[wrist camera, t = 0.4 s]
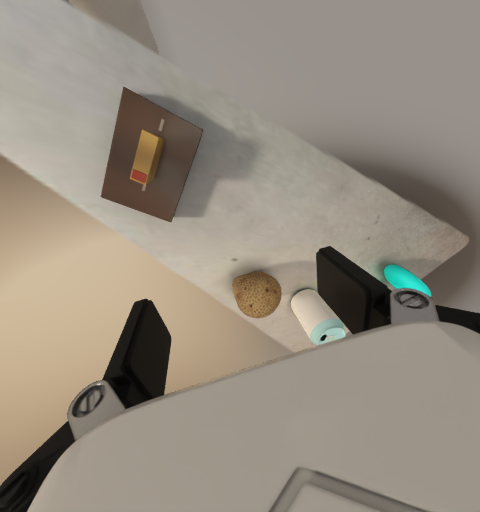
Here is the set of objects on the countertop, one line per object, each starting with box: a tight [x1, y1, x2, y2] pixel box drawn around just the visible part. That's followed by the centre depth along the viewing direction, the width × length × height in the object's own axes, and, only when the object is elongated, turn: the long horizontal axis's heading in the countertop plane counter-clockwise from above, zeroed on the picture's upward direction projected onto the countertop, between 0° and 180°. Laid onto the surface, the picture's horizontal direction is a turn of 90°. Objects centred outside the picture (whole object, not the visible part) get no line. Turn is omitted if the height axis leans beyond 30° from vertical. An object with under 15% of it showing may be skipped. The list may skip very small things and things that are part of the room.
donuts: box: [384, 265, 431, 297], centre depth 47 cm, size 10×10×10 cm
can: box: [291, 289, 346, 345], centre depth 45 cm, size 7×7×12 cm
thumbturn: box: [130, 130, 165, 185], centre depth 26 cm, size 6×2×6 cm, turn 155°
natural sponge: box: [232, 271, 281, 318], centre depth 40 cm, size 9×9×10 cm
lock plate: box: [101, 87, 203, 222], centre depth 30 cm, size 14×10×3 cm
